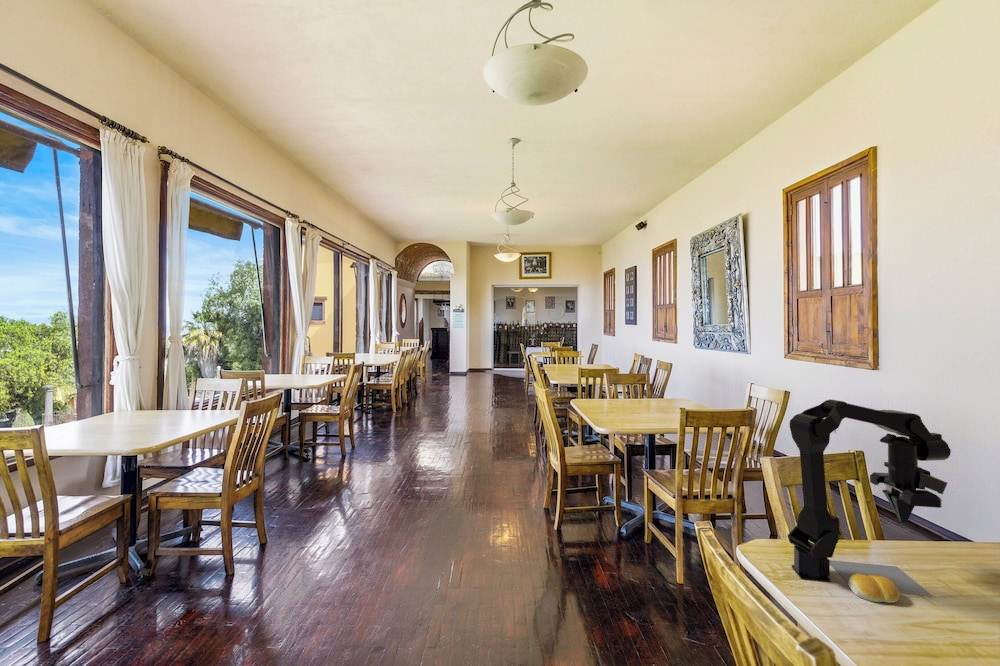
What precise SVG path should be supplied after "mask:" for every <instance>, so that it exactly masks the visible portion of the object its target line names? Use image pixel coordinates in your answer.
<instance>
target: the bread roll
mask: <svg viewBox="0 0 1000 666" xmlns="http://www.w3.org/2000/svg"><path fill="white" fill-rule="evenodd" d="M847 585H848V587H849V589H851V590H850V591H852V592H853V593H854V594H855V595H856V596H857V597H859V598H861V599H864V600H866V601H869V602H874V603H887V604H888V603H889V604H894V603H896V602H898V600H899V599H900V594H901V593H899V590H898V588H897V586H896V585H895V584H894V583H893V582H892V581H891V580H889V579H888V578H886V577H883V576H879V575H873V574H869V575H863V574H857V573H856V574H853V575H851V576H850V578H849V583H847Z"/></svg>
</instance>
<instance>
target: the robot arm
mask: <svg viewBox="0 0 1000 666" xmlns="http://www.w3.org/2000/svg"><path fill="white" fill-rule="evenodd" d="M844 419H850V420H854V421H859V422H864V423H868V424H872V425H874V426H877V427H878V428H879V429H882V430H883V431H886V432H889V433H886V434H885V436H882V437H881V438H880V439H879V441H880V443H884V444H887V461H884V462H883V464H884V465H883V466H884V467H886V468H887V469H888V470H887V472H875V471H874V472H872V473H871V474H870V475H869V482H870V483H871V484H873V485H875V486H879V485H880V484H884V486H885V489H882V490H881V491H882V493H883V494H884V495H885V497H886V499H887V500H888V503H889V504H890V506H891V508H892V509H893V511H894V513H895V515H896V517H897V518H898V520H899V522H900V523H901V524H907V523H908V521H909V519H910V516H911V514H912V512H913V510H914V508H915V507H921V508H922V507H923V508H925V507H926V508H942V498H940V497H939V496H938V495H937V494H936V493H934V492H932V491H935V492H937V493H938V494H940V495H943V494H944V493H945V490H946V488H947V485H948V482H947V481H944V480H942V479H940V478H938V477H935V476H933V475H931V471H930V470H927V469H924V468H922V467H920V466H919V465H918V464H919V461H920V462H921V461H922V462H923V461H925V462H928V461H946V460H947V459H948V458H950V456H951V451H952V450H951V448H950V446H949V444H948V442H946V440H944V439H943V435H942V434H941V433H937V432H930V431H929V429H928V428H927V427H926V425H925V424H924V422H923V421H922V417H921V415H919V414H916V413H911V412H906V411H900V410H893V409H874V408H870V407H865V406H860V405H855V404H853V403H852V404H851V403H847V402H846V401H843V400H842V401H841V400H837V399H826V400H825V401H822V402H821V403H820V404H818V405H815V406H813V407H810V408H808V409H805V410H804V411H802V412H801V413H797V414H795V415H794V416H793V417H792V418H791V419H790V420H789V429H790V433H791V434H790V435H791V438H792V439H793V442H794V443H795V445H796V446H797V448H798V451H799V458H800V459H799V460H800V471H801V472H800V473H801V483H802V486H801V487H802V498H803V507H802V509H801V510H800V512H799V514H798V516H797V517H798V519H797V524H796V526H795V527H794V528H793V529H792V530H791V531H790V532H789V533H788V534H787V538H788V542H789V544H792V545H794V546H793V559H794V561H793V564H792V565H791V568H792V570H793V571H794V572H795V574H797V576H798V578H800V579H801V580H806V581H813V582H814V581H815V582H825V583H831V582H832V581H831V578H829V577H830V575H831V573H830V572H831V569H830V567H831V565H830V560H831V559H830V558H833V555H834V553H835V550H836V548H837V544H838V543H839V540H840V539H839V538H840V537H839V536H842V533H841V531H840V523H841V522H840V519H839V517H837V516H836V515H833V514H831V513H830V511H829V505H828V498H827V497H828V495H827V494H828V493H827V483H826V471H825V459H824V458H825V457H824V455H825V454H824V452H825V450H826V449H827V447H828V445H829V444H830V438H831V433H833V432H835V430H837V429H839V428H840V425H841V423H842V422H843V420H844ZM892 433H895V434H892ZM897 435H899V436H897ZM926 489H929V490H931V491H929V490H926Z"/></svg>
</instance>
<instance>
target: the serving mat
mask: <svg viewBox="0 0 1000 666" xmlns="http://www.w3.org/2000/svg"><path fill="white" fill-rule="evenodd" d="M829 560H830V567H831V568H833V570H834V571H835V572H836V573H837V574H838V575H839V576H840V577H841V578H842V579H843V580H844V581H846V583H847V584H848V583H849V578H850V576H851V575H853V574H856V573H857V574H863V575H869V574H873V575H879V576H883V577H886V578H888V579H889V580H891V581H892V582H893V583H894V584H895V585H896V586H897V588H898V590H899V594H903V595H904V594H906V595H913V596H914V595H915V596H922V597H933V598H934V595H933V594H931V593H930V592H929V591H928V590H927V589H925V588H924V587H923V586H922V585H920V584H919V583H918V582H916V580H914V579H913V578H912V577H910V575H908V574H907V573H906V572H904V570H902V569H900V568H899V566H897V565H884V564H875V563H874V564H873V563H863V562H853V561H851V562H850V561H842V560H833V559H832V560H831V559H829Z"/></svg>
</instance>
